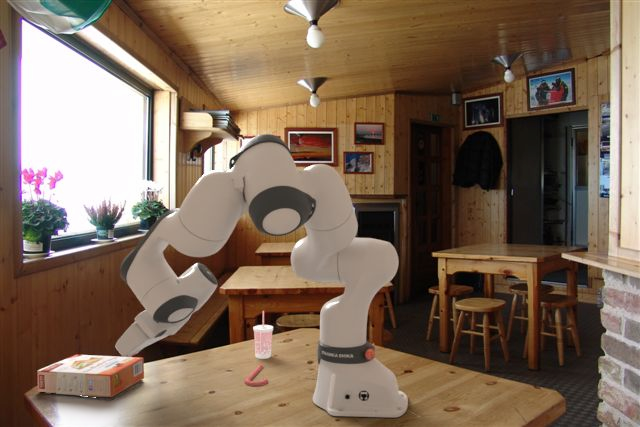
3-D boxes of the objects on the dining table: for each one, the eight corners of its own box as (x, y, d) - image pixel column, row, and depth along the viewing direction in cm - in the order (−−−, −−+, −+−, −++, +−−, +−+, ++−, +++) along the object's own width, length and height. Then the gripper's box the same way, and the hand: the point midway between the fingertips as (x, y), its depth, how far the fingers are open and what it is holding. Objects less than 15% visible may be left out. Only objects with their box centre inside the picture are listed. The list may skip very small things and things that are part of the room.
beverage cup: (275, 354, 155) (276, 309, 155) (269, 360, 149) (269, 313, 149) (257, 352, 157) (257, 308, 156) (250, 358, 151) (250, 312, 150)
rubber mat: (143, 381, 131) (143, 380, 131) (111, 400, 119) (111, 399, 119) (113, 378, 133) (113, 377, 133) (78, 396, 121) (78, 395, 121)
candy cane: (279, 370, 143) (279, 365, 143) (264, 389, 128) (264, 383, 128) (258, 368, 144) (259, 363, 144) (241, 387, 129) (241, 381, 129)
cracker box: (111, 372, 118) (35, 370, 122) (112, 398, 118) (36, 394, 122) (144, 355, 131) (74, 353, 136) (145, 378, 132) (75, 375, 136)
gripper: (179, 299, 132) (146, 333, 135) (133, 316, 113) (95, 355, 115) (195, 316, 131) (161, 350, 134) (151, 337, 112) (112, 376, 114)
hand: (130, 353), depth 124 cm, fingers closed
